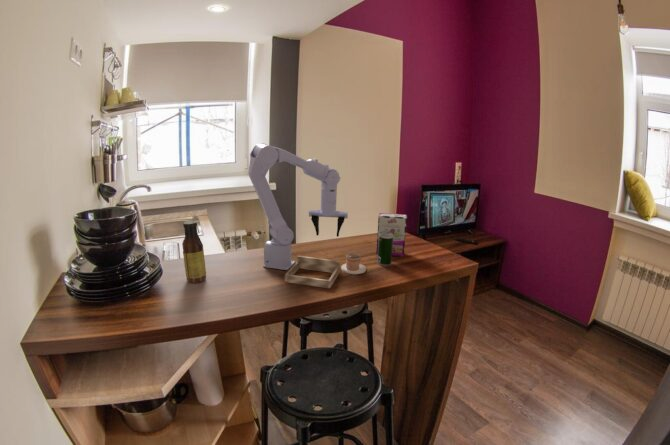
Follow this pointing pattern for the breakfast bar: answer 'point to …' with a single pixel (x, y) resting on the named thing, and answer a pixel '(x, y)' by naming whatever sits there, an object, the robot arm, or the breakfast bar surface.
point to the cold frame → (315, 265)
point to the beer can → (385, 248)
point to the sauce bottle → (193, 254)
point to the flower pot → (352, 262)
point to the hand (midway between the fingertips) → (327, 235)
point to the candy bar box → (393, 231)
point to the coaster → (360, 271)
